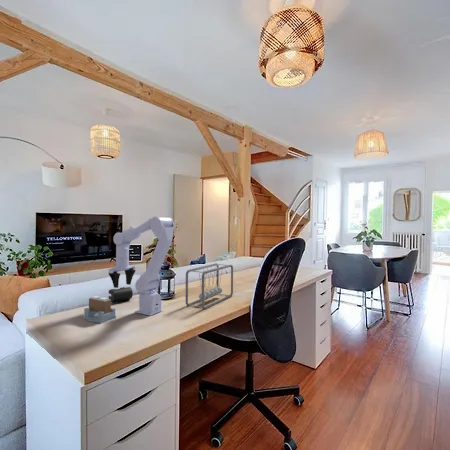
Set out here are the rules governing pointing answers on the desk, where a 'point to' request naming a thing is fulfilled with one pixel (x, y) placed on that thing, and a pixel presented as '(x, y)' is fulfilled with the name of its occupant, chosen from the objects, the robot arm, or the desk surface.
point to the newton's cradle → (209, 292)
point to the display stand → (99, 315)
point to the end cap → (120, 294)
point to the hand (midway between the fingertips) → (122, 285)
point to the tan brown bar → (100, 304)
